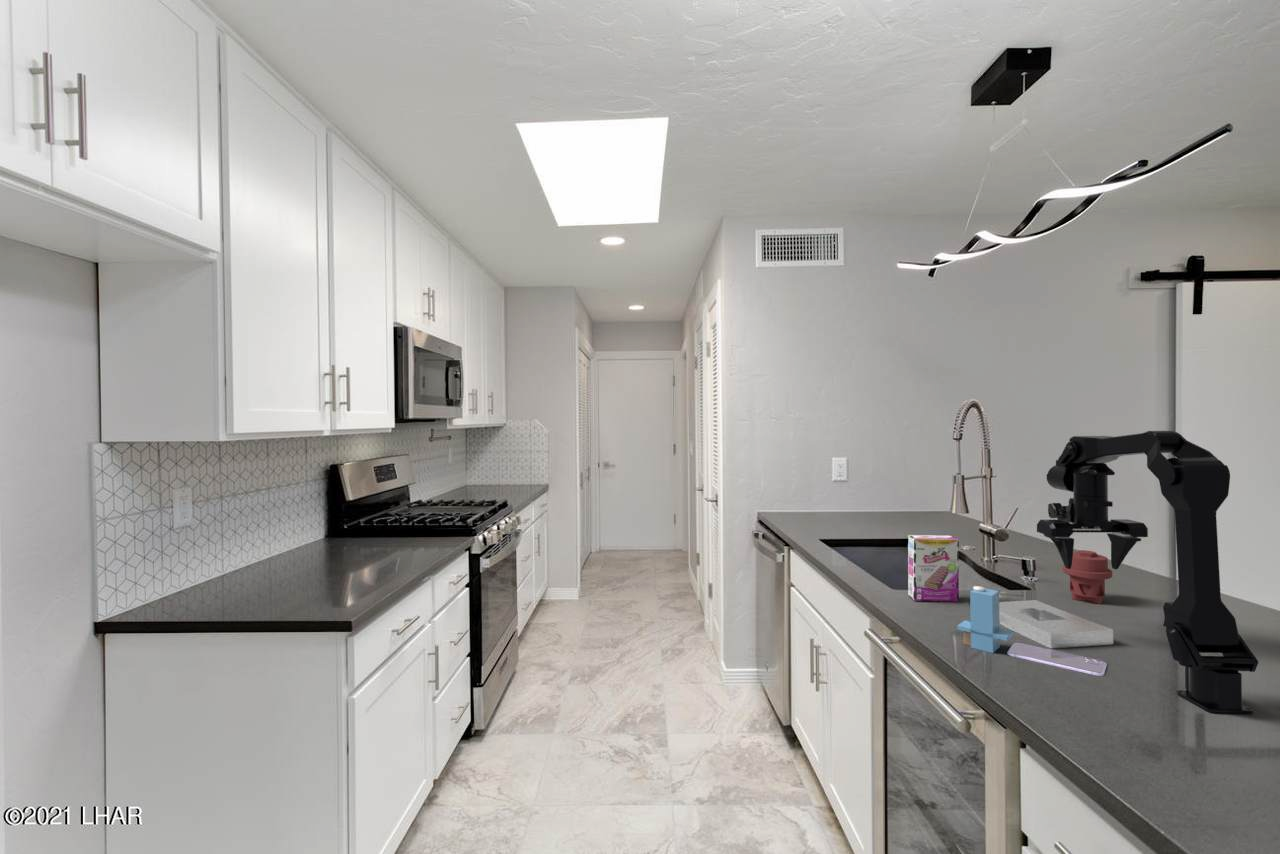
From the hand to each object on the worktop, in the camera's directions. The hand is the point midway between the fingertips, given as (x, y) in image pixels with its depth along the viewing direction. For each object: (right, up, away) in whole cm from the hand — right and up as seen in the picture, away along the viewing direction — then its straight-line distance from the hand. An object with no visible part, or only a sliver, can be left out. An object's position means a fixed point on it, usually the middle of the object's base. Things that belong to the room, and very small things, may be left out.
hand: (1091, 568), depth 121 cm
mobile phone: (-15, -16, -10) cm, 24 cm away
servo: (-25, -15, -4) cm, 29 cm away
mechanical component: (+19, -14, +25) cm, 34 cm away
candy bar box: (-19, -15, +28) cm, 37 cm away
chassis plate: (-6, -15, +6) cm, 17 cm away
